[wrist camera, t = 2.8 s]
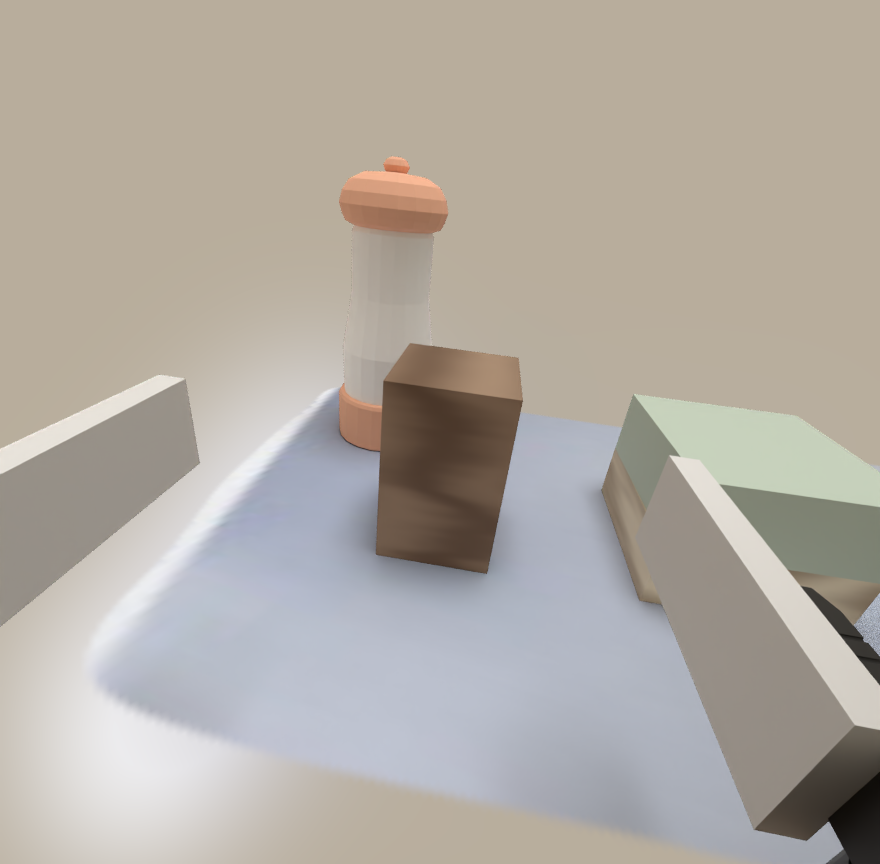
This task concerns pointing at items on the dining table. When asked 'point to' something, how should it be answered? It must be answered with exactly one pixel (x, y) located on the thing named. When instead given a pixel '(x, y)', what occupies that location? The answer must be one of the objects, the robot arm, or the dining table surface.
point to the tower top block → (767, 479)
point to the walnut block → (445, 454)
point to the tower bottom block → (626, 521)
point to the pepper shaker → (385, 286)
